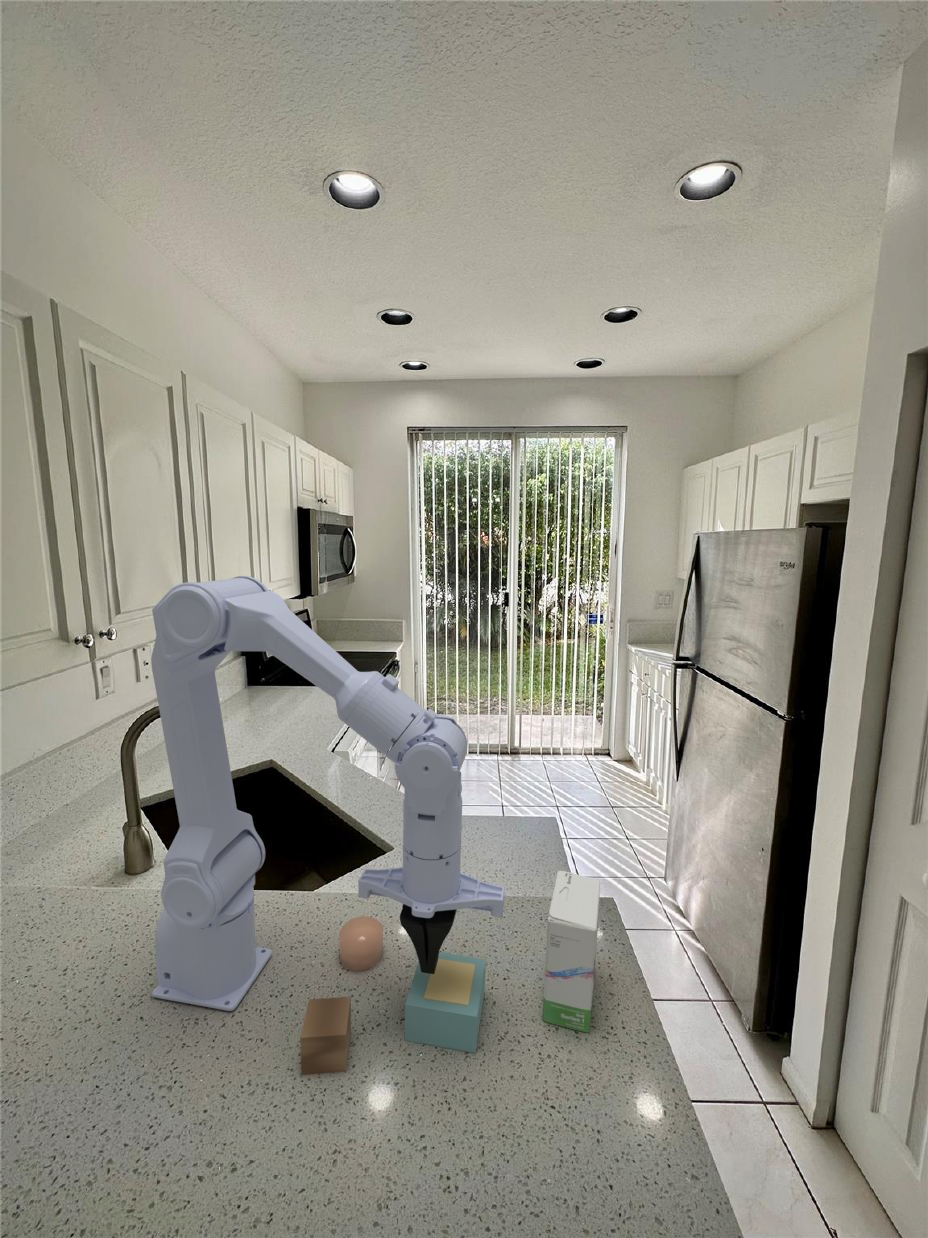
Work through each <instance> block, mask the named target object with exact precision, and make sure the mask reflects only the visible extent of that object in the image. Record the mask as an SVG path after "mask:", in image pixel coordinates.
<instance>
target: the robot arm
mask: <svg viewBox="0 0 928 1238" xmlns="http://www.w3.org/2000/svg"><path fill="white" fill-rule="evenodd" d="M151 611H152V612H151V613H152V618H153V623H154V630H155V639H154V643H153V649H152V653H151V658H150V659H151V660H150V662H151V669H152V676H153V683H154V687H155V688H154V689H155V692H156V693H155V695H156V699H157V704H158V711H159V716H160V720H161V721H160V722H161V726H162V733H163V737H164V742H165V743H164V744H165V748H166V749H165V750H166V755H167V760H168V766H169V771H170V772H169V773H170V777H171V784H172V788H173V795H174V800H175V805H176V810H177V816H178V823H179V828H178V830H177V833H176V835H175V837H174V839H173V841H172V843H171V844H170V847H169V849H168V850H167V852H166V854H165V856H164V859H163V867H164V868H163V869H164V880H163V883H162V886H161V891H160V894H161V895H160V896H161V902H162V905H163V911H162V912H161V914H160V916H159V918H158V922H157V924H156V928H155V932H154V933H155V934H154V950H155V963H156V964H155V966H156V977H157V986H156V987H155V988H154V989H153V990H152V992H151V993H152V997H153V998H158V999H161V1000H168V1001H172V1002H173V1001H174V1002H177V1003H178V1002H179V1003H183V1004H190V1005H195V1006H200V1007H201V1006H202V1007H205V1008H206V1007H207V1008H211V1009H216V1010H223V1011H227V1012H229V1011H230V1012H232V1011H235V1009H237V1007H238V1006H239V1004H240V1003H241V1001H242V1000H243V999H244V997H245V995H246V994H247V992H248V991H249V990H250V988H251V987H252V985H253V983H254V982H255V981H256V979H257V978H258V976H259V974H260V973H261V971H262V970H263V969H264V967H265V965H266V964H267V963H268V961H270V958H271V957H272V955H273V950H272V949H271V948H267V947H260V946H257V945H256V942H257V941H256V918H255V917H256V916H255V915H256V914H255V890H254V886H255V885H256V873H257V872H258V871H259V870H260V869H261V868H262V867H263V865H264V862H265V860H266V848H265V845H264V842H263V840H262V838H261V837H260V835H259V834H258V832H257V831H256V828H255V826H254V821H253V816H252V815H251V814H250V813H247V812H244V811H241V810H239V809H238V808H237V807H238V806H237V803H236V796H235V789H234V784H233V777H232V771H231V765H230V759H229V753H228V747H227V741H226V740H227V739H226V734H225V729H224V727H225V726H224V722H223V721H224V720H223V717H222V709H221V702H220V696H219V690H218V684H217V678H216V670H217V669H216V668H218V666H219V665H220V664H221V663H222V662H223V661H224V659H226V658H227V657H228V655H229V654H230V653H231V652H267V653H269V654H271V655H272V656H273V657H275V658H276V659H278V660H279V661H280V662H282V663H283V664H285V665H286V666H288V668H290V669H292V670H293V671H294V672H296V673H297V674H299V675H300V676H302V677H303V678H304V679H306V680H307V681H309V682H310V683H312V684H313V685H314V686H315V687H317V688H318V689H320V690H321V691H323V692H325V693H326V694H327V695H329V696H330V697H331V698H333V699H334V700H335V707H336V713H337V717H338V719H339V720H340V721H342V722H343V723H344V724H345V725H346V726H348V727H349V728H350V729H352V731H354V732H355V733H356V734H358V736H359V737H361V738H363V739H364V740H365V742H367V743H369V745H371V746H372V747H373V748H375V749H376V750H377V751H379V752H380V753H381V754H382V755H384V756H385V757H386V758H387V759H388V760H390V761H391V762H393V763H394V770H395V775H396V778H397V780H398V781H399V783H400V785H401V787H403V790H404V792H403V793H404V795H403V796H404V798H403V800H402V801H403V802H402V803H403V806H402V808H403V809H402V810H403V811H402V813H403V814H402V817H403V819H402V821H403V822H402V867H394V868H382V869H381V868H380V869H374V868H373V869H370V868H364V870H363V872H362V873H361V875H360V876H359V879H358V881H357V882H358V884H357V885H358V886H357V887H358V895H357V896H358V898H361V899H366V900H367V899H369V898H370V897H371V895H372V896H377V897H383V898H385V897H386V898H389V899H392V900H393V901H396V902H398V903H401V904H402V906H401V912H400V914H399V921H400V925H401V927H402V928H403V929H404V931H405V932H406V933H407V935H408V937H409V939H410V940H411V943H412V946H413V947H414V951H415V952H416V956H417V959H418V962H419V964H420V969H421V972H423V973H429V974H434V973H435V970H436V966H437V962H438V956H439V952H440V950H441V947H442V946H443V944H444V941H445V940H446V938H447V936H448V935H449V933H450V932H451V929H452V927H453V925H454V921H455V918H456V914H457V910H461V909H471V910H478V911H485V912H491V913H490V914H491V916H492V917H495V918H500V919H502V918H503V914H504V905H505V894H506V893H505V891H506V890H505V889H506V887H505V886H501V885H500V886H499V885H496V884H492V883H491V884H490V883H488V882H486V881H483V880H480V879H478V878H475V877H472V876H470V875H466V873H465V874H464V873H463V872H461V861H462V860H461V853H462V827H463V825H462V824H463V821H462V820H463V797H462V791H463V784H462V772H461V769H462V766H463V764H464V763H465V762H464V761H465V759H466V756H467V751H468V739H467V735H466V733H465V731H464V730H463V728H462V727H461V726H460V724H458V723H457V721H456V720H455V718H453V717H452V716H449V715H445V714H437V712H435V711H434V710H433V709H432V708H428V710H427V709H425V708H424V707H423V706H421V704H419V703H418V702H416V700H414V699H413V698H412V697H410V696H409V695H408V694H407V693H405V691H403V690H402V689H400V688H399V687H398V685H399V683H400V681H399V680H398V679H397V677H395V676H393V675H392V674H391V673H389V674H387V675H386V676H384V675H383V674H382V673H380V672H379V671H377V670H373V671H358V669H356V668H355V667H354V666H353V665H352V664H351V663H350V662H349V661H347V660H346V659H345V658H343V656H342V655H341V654H340V653H339V652H337V651H336V650H335V649H334V648H333V647H331V645H330V644H329V643H327V642H326V640H324V639H323V638H321V637H320V636H319V635H318V634H317V633H316V632H315V631H314V630H313V629H311V628H310V626H309V625H307V624H306V623H305V622H304V621H302V619H300V618H299V616H297V615H296V614H295V613H294V612H292V610H291V609H290V608H289V607H288V605H287V603H286V602H285V600H284V598H283V597H282V596H281V595H280V594H278V593H276V592H274V591H272V590H269V589H268V587H267V586H265V584H264V583H262V582H261V581H260V580H259V579H257V578H254V577H253V576H249V575H248V576H247V575H239V576H238V575H237V576H235V577H232V578H231V577H230V578H226V579H224V578H223V579H217V580H207V581H202V582H191V581H188V582H182V583H179V584H176V585H174V587H172V588H170V590H168V592H166V594H165V595H164V596H163V597H162V598H161V599H160V600H159V601H158V602H157V603H156V605H155V606H153V608H152V610H151Z"/></svg>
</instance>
